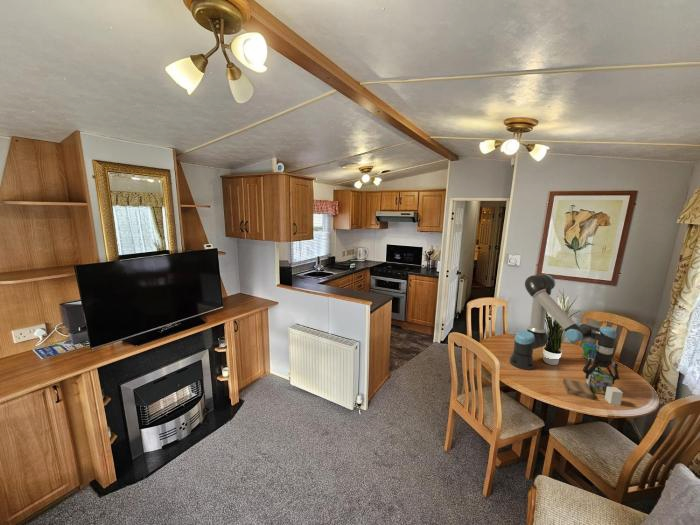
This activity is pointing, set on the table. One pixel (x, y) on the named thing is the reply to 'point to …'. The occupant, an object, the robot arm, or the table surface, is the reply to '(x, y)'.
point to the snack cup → (589, 350)
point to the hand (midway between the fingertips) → (598, 385)
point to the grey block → (613, 395)
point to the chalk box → (600, 381)
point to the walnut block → (577, 389)
